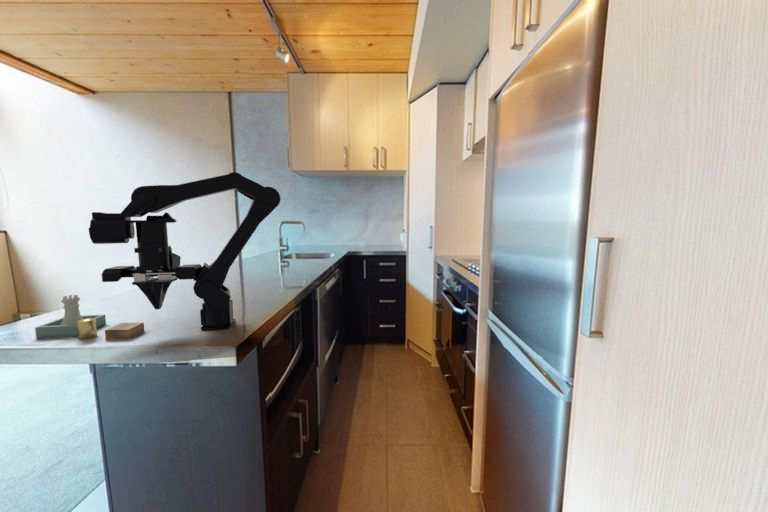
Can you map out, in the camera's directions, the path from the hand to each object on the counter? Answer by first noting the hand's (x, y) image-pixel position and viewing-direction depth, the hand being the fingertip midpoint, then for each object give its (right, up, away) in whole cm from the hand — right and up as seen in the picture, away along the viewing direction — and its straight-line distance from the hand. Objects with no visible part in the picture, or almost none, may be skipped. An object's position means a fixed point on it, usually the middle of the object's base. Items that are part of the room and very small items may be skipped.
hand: (158, 308), depth 74 cm
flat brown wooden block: (-7, -6, -1) cm, 10 cm away
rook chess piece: (-22, -5, +2) cm, 22 cm away
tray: (-22, -6, +2) cm, 23 cm away
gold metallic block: (-14, -6, -2) cm, 16 cm away
